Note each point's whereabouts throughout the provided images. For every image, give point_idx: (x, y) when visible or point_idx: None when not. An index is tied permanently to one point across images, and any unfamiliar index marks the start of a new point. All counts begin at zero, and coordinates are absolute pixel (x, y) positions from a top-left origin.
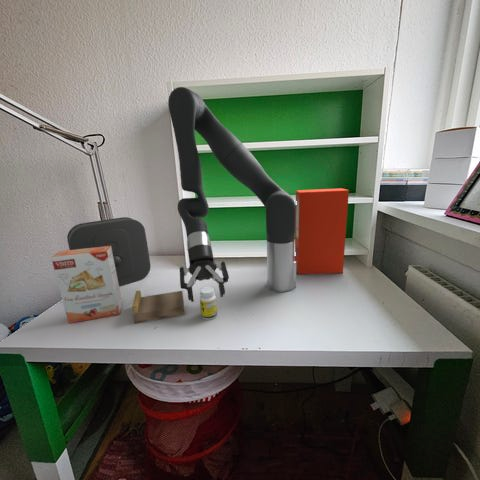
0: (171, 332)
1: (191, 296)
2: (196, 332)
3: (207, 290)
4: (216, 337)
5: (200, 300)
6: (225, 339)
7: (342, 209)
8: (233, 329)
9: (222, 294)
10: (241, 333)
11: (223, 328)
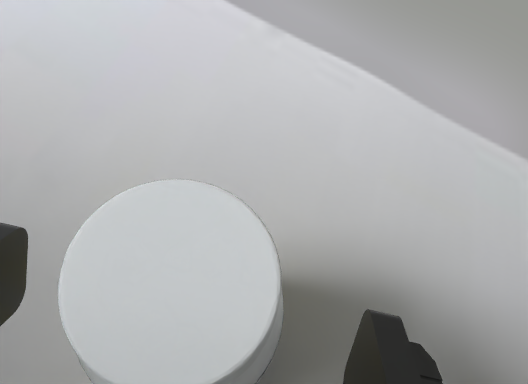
0: (502, 282)
1: (397, 332)
2: (346, 194)
3: (177, 249)
4: (252, 94)
5: (281, 293)
6: (215, 58)
7: None
8: (129, 101)
9: (5, 224)
10: (112, 52)
11: (177, 140)
